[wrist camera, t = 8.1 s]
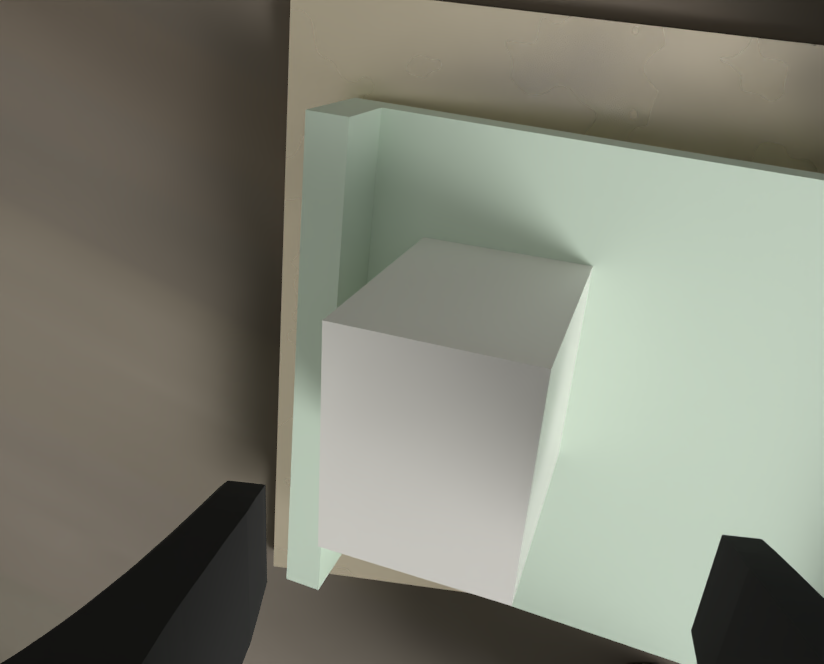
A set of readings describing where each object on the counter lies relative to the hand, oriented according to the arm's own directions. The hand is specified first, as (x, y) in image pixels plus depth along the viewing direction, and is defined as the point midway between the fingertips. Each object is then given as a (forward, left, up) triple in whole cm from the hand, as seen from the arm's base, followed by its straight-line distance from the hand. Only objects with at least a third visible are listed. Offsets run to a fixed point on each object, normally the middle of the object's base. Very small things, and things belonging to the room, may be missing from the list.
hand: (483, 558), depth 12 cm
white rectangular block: (0, 0, -7) cm, 7 cm away
